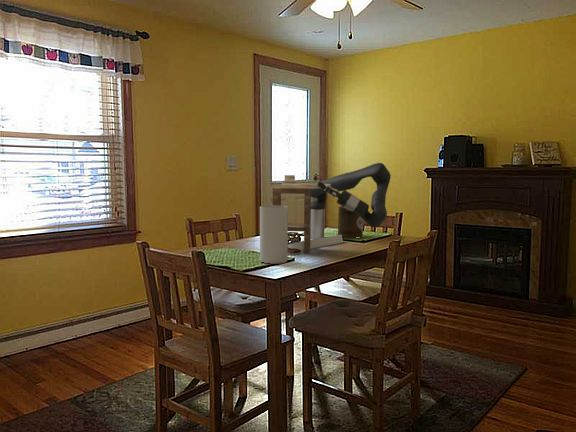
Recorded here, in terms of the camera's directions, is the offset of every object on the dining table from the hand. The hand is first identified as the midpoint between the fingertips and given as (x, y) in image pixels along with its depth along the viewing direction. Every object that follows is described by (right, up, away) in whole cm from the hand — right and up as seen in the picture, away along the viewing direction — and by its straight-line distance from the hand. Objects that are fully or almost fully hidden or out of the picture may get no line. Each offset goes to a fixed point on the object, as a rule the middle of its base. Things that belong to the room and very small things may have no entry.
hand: (318, 183), depth 254 cm
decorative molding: (0, -33, +26) cm, 41 cm away
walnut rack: (-13, -34, +8) cm, 37 cm away
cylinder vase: (-21, -37, -20) cm, 47 cm away
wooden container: (+22, -29, +55) cm, 66 cm away
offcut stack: (-14, -1, +9) cm, 17 cm away
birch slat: (-6, -2, +1) cm, 7 cm away
